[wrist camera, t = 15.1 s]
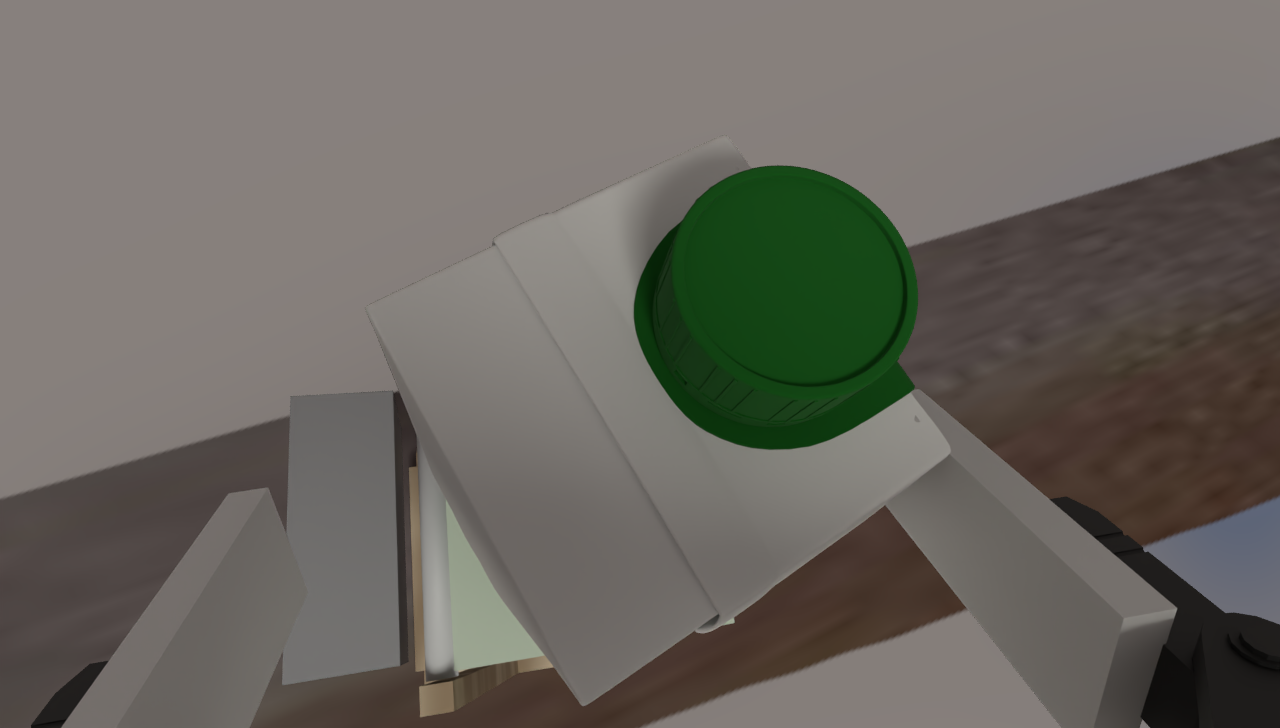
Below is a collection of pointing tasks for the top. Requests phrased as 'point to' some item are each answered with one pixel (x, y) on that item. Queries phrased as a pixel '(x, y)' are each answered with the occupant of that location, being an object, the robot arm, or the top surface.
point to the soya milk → (664, 399)
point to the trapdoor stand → (434, 693)
